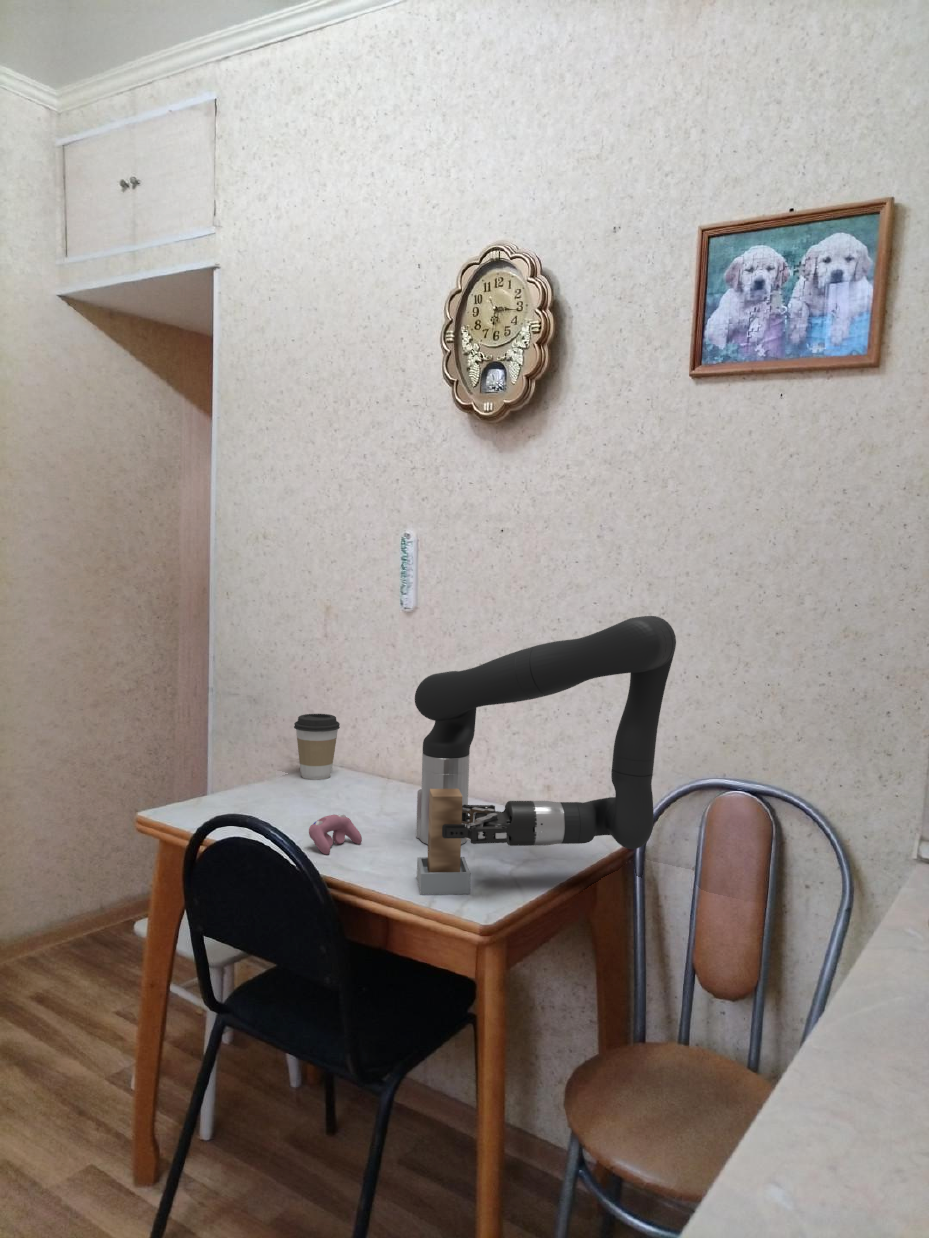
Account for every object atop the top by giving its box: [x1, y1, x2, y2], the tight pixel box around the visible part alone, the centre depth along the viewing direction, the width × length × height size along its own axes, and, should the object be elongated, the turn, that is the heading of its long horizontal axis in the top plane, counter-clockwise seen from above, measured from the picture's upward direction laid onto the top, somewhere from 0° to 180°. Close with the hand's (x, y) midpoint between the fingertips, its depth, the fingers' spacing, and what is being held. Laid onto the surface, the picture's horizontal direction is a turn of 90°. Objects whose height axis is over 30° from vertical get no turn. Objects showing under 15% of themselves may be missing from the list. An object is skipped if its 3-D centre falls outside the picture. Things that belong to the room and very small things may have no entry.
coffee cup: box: [293, 713, 341, 781], centre depth 224 cm, size 11×11×15 cm
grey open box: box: [416, 856, 471, 896], centre depth 153 cm, size 8×8×4 cm
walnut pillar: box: [427, 789, 462, 873], centre depth 153 cm, size 5×5×14 cm
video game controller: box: [308, 814, 363, 856], centre depth 172 cm, size 10×5×7 cm, turn 142°
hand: (439, 823), depth 152 cm, fingers open, 8 cm apart
